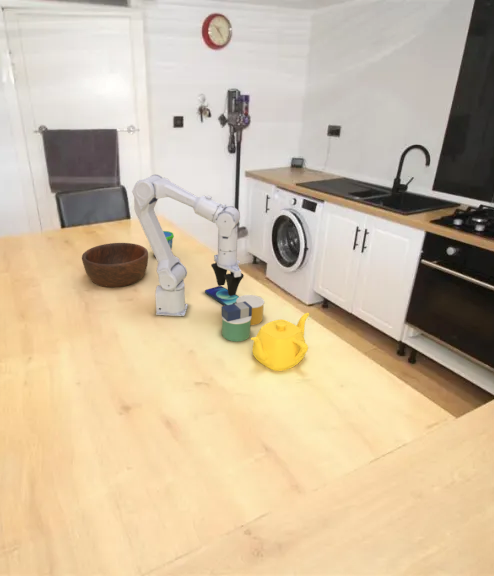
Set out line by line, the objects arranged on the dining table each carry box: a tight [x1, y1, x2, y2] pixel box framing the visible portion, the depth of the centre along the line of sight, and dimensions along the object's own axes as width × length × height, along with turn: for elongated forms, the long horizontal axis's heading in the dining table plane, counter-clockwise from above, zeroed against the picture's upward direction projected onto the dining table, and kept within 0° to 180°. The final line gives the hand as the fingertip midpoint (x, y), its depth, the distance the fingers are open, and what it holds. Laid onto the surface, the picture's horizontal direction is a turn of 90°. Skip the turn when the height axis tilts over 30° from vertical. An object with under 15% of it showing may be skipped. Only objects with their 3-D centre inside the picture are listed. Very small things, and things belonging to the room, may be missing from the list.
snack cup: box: [152, 230, 175, 257], centre depth 181 cm, size 16×10×10 cm
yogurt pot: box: [221, 316, 251, 343], centre depth 122 cm, size 9×9×6 cm
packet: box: [220, 301, 252, 321], centre depth 120 cm, size 8×4×3 cm, turn 114°
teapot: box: [250, 312, 310, 372], centre depth 109 cm, size 22×16×11 cm
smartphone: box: [204, 285, 240, 306], centre depth 145 cm, size 8×1×15 cm
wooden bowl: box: [81, 242, 149, 288], centre depth 159 cm, size 25×25×10 cm
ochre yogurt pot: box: [236, 294, 265, 326], centre depth 130 cm, size 9×9×6 cm
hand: (226, 289), depth 127 cm, fingers open, 7 cm apart
